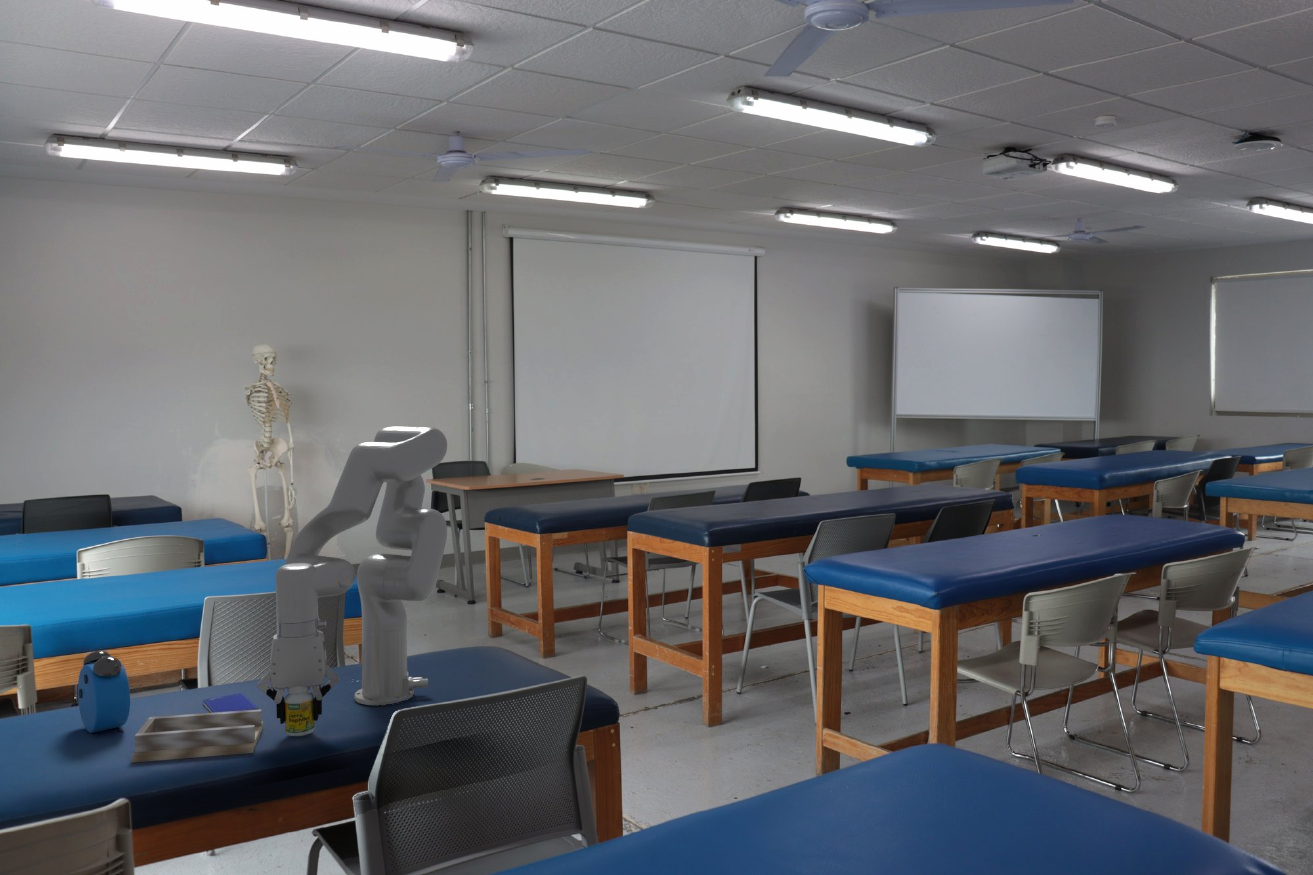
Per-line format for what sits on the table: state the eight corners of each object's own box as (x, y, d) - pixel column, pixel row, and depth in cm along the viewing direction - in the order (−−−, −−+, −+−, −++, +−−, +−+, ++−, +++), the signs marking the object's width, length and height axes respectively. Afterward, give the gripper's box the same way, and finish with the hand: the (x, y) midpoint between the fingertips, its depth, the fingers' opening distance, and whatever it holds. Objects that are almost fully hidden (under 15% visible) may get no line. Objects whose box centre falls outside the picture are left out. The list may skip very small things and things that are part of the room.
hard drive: (202, 699, 200) (217, 715, 190) (243, 692, 205) (259, 707, 195) (202, 706, 200) (217, 722, 190) (243, 699, 205) (259, 715, 195)
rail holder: (263, 727, 186) (263, 706, 186) (252, 752, 173) (252, 730, 173) (151, 735, 181) (151, 714, 181) (132, 762, 168) (131, 739, 167)
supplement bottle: (314, 725, 186) (313, 677, 185) (314, 734, 181) (313, 685, 180) (285, 728, 184) (284, 680, 183) (284, 738, 179) (283, 689, 178)
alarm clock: (131, 734, 182) (130, 657, 181) (95, 741, 177) (94, 663, 177) (110, 717, 191) (110, 644, 190) (76, 724, 187) (75, 650, 186)
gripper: (345, 620, 187) (347, 709, 188) (252, 626, 182) (255, 717, 183) (343, 629, 180) (345, 722, 181) (246, 636, 175) (249, 731, 176)
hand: (299, 718), depth 182 cm, fingers closed on supplement bottle, 5 cm apart
